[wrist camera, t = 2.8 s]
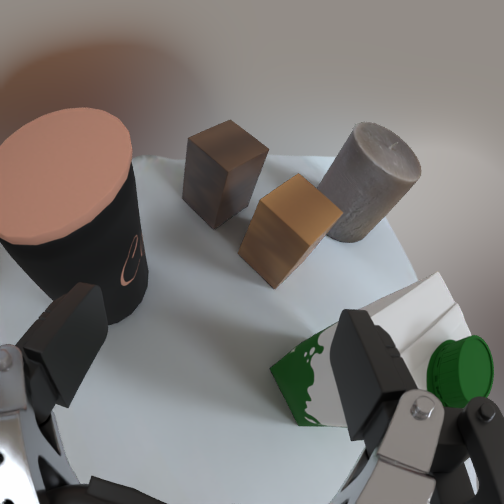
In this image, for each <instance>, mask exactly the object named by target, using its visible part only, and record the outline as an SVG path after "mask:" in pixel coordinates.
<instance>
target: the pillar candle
mask: <svg viewBox="0 0 504 504" xmlns="http://www.w3.org/2000/svg"><path fill="white" fill-rule="evenodd" d="M420 176H421V166H420V163H419V161H418V159H417V157H416V156H415V154H414V152H413V151H412V150H411V148H410V147H409V146H408V145H407V144H406V143H405V142H404V141H403V140H402V139H401V138H400V137H399V136H397V135H396V134H395V133H393V132H392V131H390V130H388V129H387V128H385V127H382V126H380V125H377V124H375V123H370V122H361V123H359V124H355V127H354V128H353V131H352V132H351V134H350V136H349V137H348V139H347V141H346V142H345V144H344V145H343V147H342V149H341V150H340V152H339V154H338V155H337V157H336V158H335V160H334V162H333V163H332V165H331V166H330V168H329V170H328V171H327V173H326V174H325V176H324V177H323V179H322V181H321V182H320V184H319V186H318V187H317V189H318V190H319V191H320V192H321V193H322V194H323V195H325V196H326V197H327V198H328V199H329V200H330V201H331V202H332V203H334V204H335V205H336V206H337V207H338V208H339V209H340V210H341V211H342V212H343V214H342V215H341V217H340V218H339V219H338V220H337V222H336V223H335V224H334V225H333V226H332V228H331V229H330V230H329V231H328V233H327V235H328V236H330V237H332V238H334V239H336V240H338V241H340V242H346V243H352V242H357V241H359V240H362V239H363V238H364V237H365V236H366V235H367V234H368V233H369V232H370V231H371V230H372V229H373V228H374V227H375V226H376V225H377V224H378V223H379V222H380V221H381V220H382V219H383V218H384V217H385V216H386V215H387V213H388V212H389V211H390V210H391V209H392V208H393V207H394V206H395V205H396V204H397V203H398V202H399V200H400V199H401V198H402V197H403V196H404V195H405V194H406V193H407V192H408V191H409V190H410V188H411V187H412V186H413V185H414V184H415V183H416V181H417V180H418V179H419V178H420Z"/></svg>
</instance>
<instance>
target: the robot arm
mask: <svg viewBox="0 0 504 504" xmlns="http://www.w3.org/2000/svg"><path fill="white" fill-rule="evenodd" d="M107 333H108V321H107V316H106V311H105V306H104V301H103V296H102V291H101V288H100V286H98V285H94V284H88V283H81V282H79V283H77V284H76V285H75V286H74V287H73V288H72V289H71V290H70V291H69V292H68V293H67V294H65V295H63V296H61V297H60V298H58V299H56V300H55V301H53V302H52V303H51V304H50V305H49V307H48V308H47V309H46V310H45V312H43V313H42V314H41V316H40V317H39V320H38V319H37V320H36V321H35V322H34V324H33V325H32V326H31V327H30V328H29V329H28V331H27V332H26V333H25V334H24V335H23V337H22V338H21V339H20V340H19V341H18V343H17V344H16V345H11V344H5V345H1V346H0V504H167V503H164V502H162V501H160V500H157V499H155V498H153V497H151V496H149V495H146V494H144V493H142V492H140V491H138V490H136V489H134V488H131V487H127V486H123V485H120V484H116V483H113V482H110V481H106V480H103V479H100V478H97V477H94V476H91V479H90V482H89V484H80V482H79V480H78V478H77V476H76V474H75V473H74V471H73V470H72V468H71V466H70V464H69V462H68V460H67V457H66V454H65V450H64V447H63V444H62V440H61V437H60V433H59V429H58V426H57V422H56V417H55V414H54V412H53V410H52V409H53V408H54V406H55V404H58V405H60V406H63V407H66V408H69V406H70V404H71V402H72V400H73V398H74V396H75V394H76V392H77V390H78V388H79V386H80V384H81V382H82V381H83V379H84V377H85V375H86V373H87V371H88V369H89V368H90V366H91V364H92V362H93V360H94V359H95V357H96V355H97V353H98V352H99V350H100V348H101V346H102V345H103V343H104V341H105V339H106V337H107ZM400 355H401V354H400V352H399V351H398V349H397V348H396V345H395V343H394V341H393V340H392V338H391V336H390V334H388V333H387V332H386V331H385V330H384V329H383V328H382V327H381V326H380V325H374V323H373V321H372V319H371V317H370V315H369V313H368V312H367V311H366V310H351V309H344V310H343V311H342V313H341V315H340V318H339V321H338V325H337V328H336V331H335V334H334V337H333V340H332V343H331V347H330V364H331V367H332V371H333V375H334V378H335V382H336V385H337V389H338V393H339V397H340V400H341V404H342V408H343V412H344V416H345V420H346V424H347V427H348V431H349V436H350V440H351V441H357V440H364V442H365V446H366V447H365V448H364V449H363V451H362V452H361V454H360V456H359V458H358V459H357V461H356V463H355V465H354V466H353V468H352V470H351V471H350V473H349V475H348V476H347V478H346V480H345V481H344V483H343V484H342V486H341V488H340V489H339V491H338V492H337V494H336V495H335V496H334V498H333V499H332V500H331V501H330V503H329V504H429V503H430V504H504V417H503V415H502V413H501V412H500V410H499V408H498V406H497V405H496V404H495V403H494V402H493V401H491V400H490V399H488V398H486V397H481V396H478V397H474V398H472V399H471V400H470V401H469V402H468V404H467V405H466V406H465V408H464V409H462V408H451V407H443V405H442V403H441V401H440V400H439V399H438V398H437V397H436V396H435V395H434V394H432V393H430V392H428V391H426V390H422V389H418V387H417V385H416V383H415V381H414V379H413V377H412V375H411V373H410V371H409V369H408V367H407V366H406V364H405V362H404V360H403V358H402V357H400ZM469 457H470V458H471V461H472V463H473V466H474V469H475V472H476V474H477V477H478V480H479V490H478V492H477V494H476V495H475V494H474V491H473V488H472V485H471V482H470V479H469V476H468V473H467V470H466V467H465V464H464V462H465V461H466V460H467V459H468V458H469Z"/></svg>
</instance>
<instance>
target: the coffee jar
mask: <svg viewBox="0 0 504 504" xmlns="http://www.w3.org/2000/svg"><path fill="white" fill-rule="evenodd" d="M131 160H132V145H131V140H130V134H129V131H128V130H127V129H126V127H125V126H124V125H123V123H122V122H121V121H120V120H119V118H116V117H115V116H113V115H111V114H109V113H107V112H105V111H102V110H97V109H90V108H71V109H63V110H60V111H56V112H53V113H49V114H46V115H43V116H41V117H39V118H37V119H35V120H33V121H31V122H29V123H28V124H26V125H24V126H23V127H21V128H20V129H19V130H18V131H16V132H15V133H13V134H12V135H11V136H10V137H8V138H7V139H6V140H5V141H4V143H3V144H2V145H1V146H0V242H1V244H2V245H3V247H4V248H5V249H6V251H7V252H8V253H9V254H10V256H11V257H12V258H13V259H14V260H15V261H16V262H17V264H18V265H19V266H20V267H21V268H22V269H23V270H24V271H25V272H26V273H27V275H28V276H29V277H30V278H31V279H32V280H33V281H34V282H35V283H36V284H37V285H38V286H39V287H40V288H41V289H42V290H43V291H44V292H45V293H46V294H47V295H48V296H49V297H50V298H51V299H52V300H53V301H55V300H56V299H58V298H60V297H61V296H63V295H65V294H67V293H68V292H69V291H70V290H71V289H72V288H73V287H74V286H75V285H76V284H77V283H79V282H81V283H88V284H94V285H98V286H100V288H101V291H102V296H103V301H104V306H105V311H106V316H107V321H108V325H111V324H115V323H118V322H120V321H121V320H123V319H124V318H126V317H127V316H129V315H130V314H132V313H133V311H134V310H135V309H136V308H137V306H138V305H139V304H140V303H141V301H142V299H143V297H144V294H145V291H146V289H147V286H148V267H147V261H146V255H145V249H144V243H143V237H142V230H141V223H140V216H139V208H138V200H137V191H136V182H135V176H134V171H133V166H132V162H131Z"/></svg>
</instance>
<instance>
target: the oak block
mask: <svg viewBox="0 0 504 504" xmlns="http://www.w3.org/2000/svg"><path fill="white" fill-rule="evenodd" d="M342 214H343V212H342V211H341V210H340V209H339V208H338V207H337V206H336V205H335V204H334V203H332V202H331V201H330V200H329V199H328V198H327V197H326V196H325V195H323V194H322V193H321V192H320V191H319V190H318V189H317V188H315V187H314V186H313V185H312V184H311V183H310V182H308V181H307V180H306V179H305V178H304V177H303V176H301V175H300V174H299V173H298V174H297V175H295V176H294V177H292V178H291V179H289V180H288V181H286V182H285V183H283V184H282V185H280V186H279V187H277V188H276V189H275V190H273V191H272V192H270V193H269V194H267V195H266V196H264V197H263V198H262V199H260V201H259V203H258V205H257V208H256V210H255V212H254V215H253V217H252V220H251V222H250V224H249V227H248V229H247V232H246V234H245V236H244V239H243V241H242V244H241V246H240V249H239V251H238V254H239V255H240V256H241V257H242V258H243V259H244V260H245V261H246V262H247V263H248V264H249V265H250V266H251V267H252V268H253V269H254V270H255V271H256V272H257V273H258V274H259V275H260V276H261V277H262V278H264V279H265V280H266V281H267V282H268V283H269V284H270V285H271V286H272V287H273V288H274V289H276V288H277V287H278V286H279V285H280V284H281V283H282V282H283V281H284V280H285V279H286V278H287V277H288V276H289V275H290V274H291V273H292V272H293V271H294V270H295V269H296V268H297V267H298V266H299V265H300V264H301V263H302V262H303V261H304V260H305V259H306V258H307V257H308V256H309V254H310V253H311V252H312V251H313V250H314V248H315V247H316V246H317V245H318V244H319V242H320V241H321V240H322V239H323V237H324V236H325V235H326V234H327V233H328V231H329V230H330V229H331V228H332V226H333V225H334V224H335V223H336V222H337V220H338V219H339V218H340V217H341V215H342Z"/></svg>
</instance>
